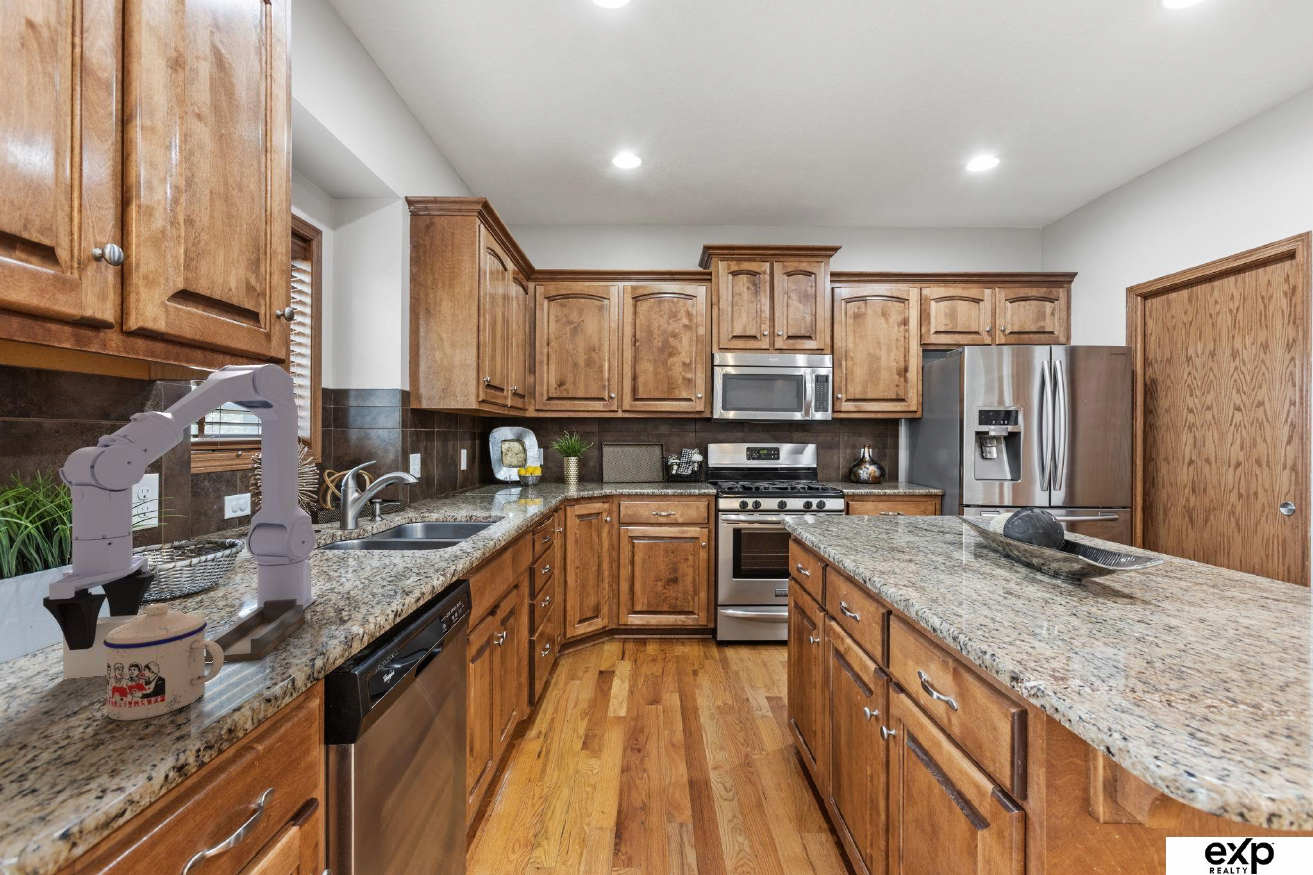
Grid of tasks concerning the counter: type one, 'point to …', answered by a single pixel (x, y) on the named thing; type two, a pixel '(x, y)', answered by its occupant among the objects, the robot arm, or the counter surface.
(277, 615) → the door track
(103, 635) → the beige rectangular block
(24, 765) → the counter surface
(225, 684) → the counter surface
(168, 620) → the teacup with lid
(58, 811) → the counter surface
